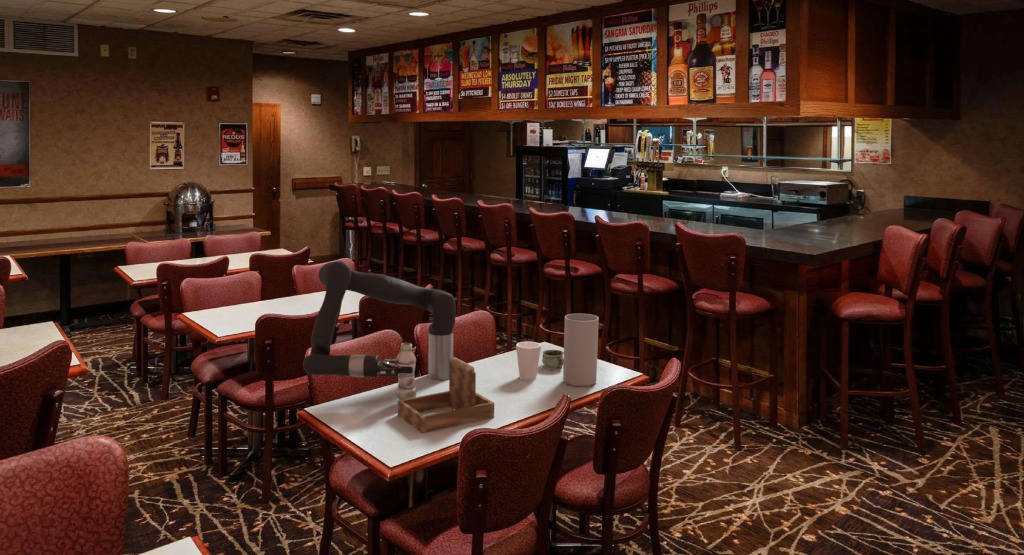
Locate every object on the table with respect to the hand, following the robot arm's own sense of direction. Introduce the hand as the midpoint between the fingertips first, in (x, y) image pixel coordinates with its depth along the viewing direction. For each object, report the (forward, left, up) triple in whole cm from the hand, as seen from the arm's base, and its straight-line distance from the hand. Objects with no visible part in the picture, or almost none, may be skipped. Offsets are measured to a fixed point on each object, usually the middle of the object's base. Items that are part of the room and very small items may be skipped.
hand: (413, 367), depth 254 cm
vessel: (-10, +66, -13) cm, 68 cm away
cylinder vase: (+10, +64, -13) cm, 66 cm away
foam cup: (-4, +50, -13) cm, 52 cm away
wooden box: (+16, +4, -13) cm, 21 cm away
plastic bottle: (-1, -2, -12) cm, 12 cm away
